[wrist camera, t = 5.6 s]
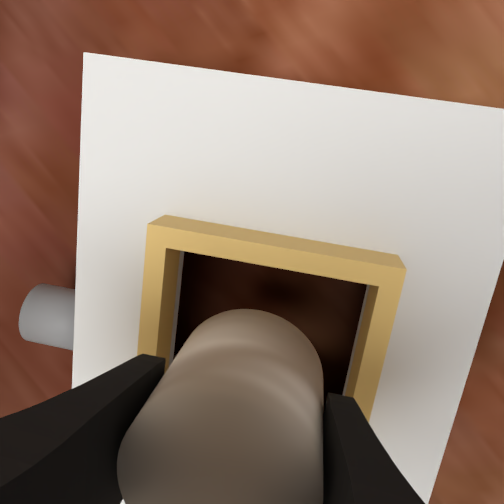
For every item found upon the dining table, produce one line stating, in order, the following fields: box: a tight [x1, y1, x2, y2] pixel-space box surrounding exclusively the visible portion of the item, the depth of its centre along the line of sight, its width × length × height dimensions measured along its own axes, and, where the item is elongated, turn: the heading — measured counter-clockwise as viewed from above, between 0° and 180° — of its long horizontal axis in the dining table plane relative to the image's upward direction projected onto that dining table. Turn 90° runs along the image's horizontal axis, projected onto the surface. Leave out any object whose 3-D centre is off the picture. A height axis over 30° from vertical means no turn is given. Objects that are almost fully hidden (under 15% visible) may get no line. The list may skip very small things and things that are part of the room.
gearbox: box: [19, 52, 504, 504], centre depth 17 cm, size 16×16×6 cm
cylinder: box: [117, 309, 323, 504], centre depth 10 cm, size 4×4×4 cm
